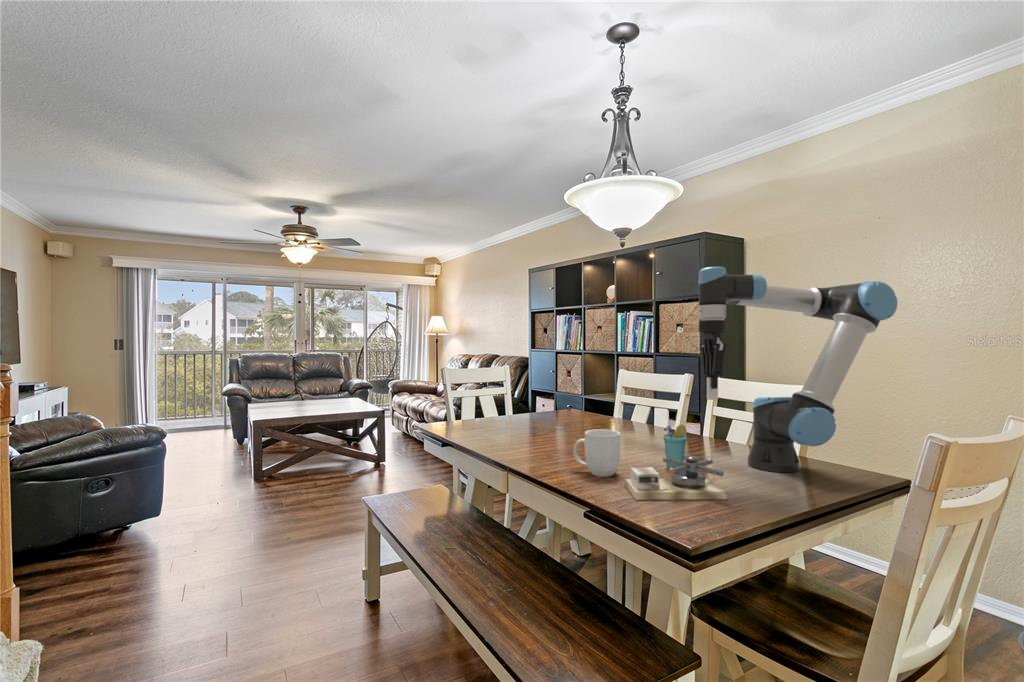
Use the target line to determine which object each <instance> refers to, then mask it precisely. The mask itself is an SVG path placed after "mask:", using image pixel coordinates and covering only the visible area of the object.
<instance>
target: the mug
mask: <svg viewBox="0 0 1024 682" xmlns="http://www.w3.org/2000/svg"><path fill="white" fill-rule="evenodd" d="M580 443H584V456H585V461H586V462H585V461H583V460H581V458H580V457H579V454H578V447H579V444H580ZM573 457H574V458H575V460H576V462H577V463H578V464H580V465H582V466H585V467H587V468H588V470H589V471H590V473H591V474H592V475H593V476H595V477H598V478H599V477H602V478H607V477H611V476H613V475H614V474H615V472H616V470H617V468H618V466H619V462H620V457H621V433H620V432H619V431H618V430H612V429H603V428H602V429H599V428H598V429H596V428H595V429H588V430H586V431H585V432H584V438H580V439H578V440H577V441H576V442H575V443H574V446H573Z"/></svg>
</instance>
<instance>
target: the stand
mask: <svg viewBox="0 0 1024 682" xmlns="http://www.w3.org/2000/svg"><path fill="white" fill-rule="evenodd" d="M624 486H625V488H626V489H627V490H628V492H629V493H630V494H631V496H632V497H633V498H634V499H635V501H656V500H657V501H659V500H660V501H661V500H663V501H667V500H670V501H672V500H673V501H676V500H677V501H678V500H683V501H684V500H692V501H693V500H694V501H695V500H697V501H699V500H727V498H728V495H727V494H728V493H727V491H726V490H725V489H723V488H722V487H721V486H720V485H718V484H716V483H715V482H714V481H712V480H710V479H709V478H705V486H704V487H700V488H687V487H681V486H677V485H674V484H672V483H671V478H660V473H659V472H657V471H656V470H655V469H654V468H653V467H649V466H648V467H643V466H642V467H630V478H625V479H624Z"/></svg>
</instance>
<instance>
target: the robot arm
mask: <svg viewBox="0 0 1024 682" xmlns="http://www.w3.org/2000/svg"><path fill="white" fill-rule="evenodd" d="M697 285H698V308H697V312H698V319H700V320H699V322H698V333H700V334H703V339H702V342H700V343H699V348H700V353H701V362H702V363H701V365H702V372H703V375H705V377H706V400H709V401H711V400H712V401H713V400H714V401H715V400H716V401H717V400H719V377H721V376H722V375H723V369H724V368H723V367H724V360H725V359H724V357H725V351H726V348H727V347H726V346H727V345H726V343H725V342H724V343H722V342H723V340H722V334H725V333H726V332H727V321H726V320H725V319H726V318H727V305H734V306H736V305H737V306H745V307H754V308H761V309H762V308H763V309H770V310H780V311H788V312H797V313H802V314H803V315H804V316H805V317H811V318H819V319H822V320H823V319H824V320H829V321H834V323H835V324H834V326H833V327H832V330H831V332H830V334H829V336H828V337H827V340H826V341H825V343H824V345H823V348H822V350H821V351H820V352H819V353H820V354H819V355H818V357H817V359H816V361H815V362H814V365H813V366H812V369H811V371H810V372H809V375H808V377H807V378H806V381H805V382H804V385H803V386H802V389H801V390H798V391H795V392H794V393H793V394H792V396H777V397H776V396H775V397H773V396H771V397H769V396H767V397H765V396H764V397H762V396H761V397H759V396H758V397H756V398H754V400H753V406H752V411H753V442H752V445H751V448H750V450H749V453H748V456H747V465H748V466H750V467H752V468H754V469H758V470H761V471H766V472H767V471H768V472H774V473H775V472H776V473H793V472H794V473H795V472H799V471H800V470H801V469H800V467H801V464H800V459H799V457H798V455H797V451H796V449H795V445H794V443H796V444H797V445H801V446H807V447H817V446H821V445H824V444H826V443H827V442H829V441H830V440H831V439H832V437H833V436H834V435H835V432H836V429H837V424H836V418H835V417H834V413H835V411H836V410H835V409H836V408H835V407H834V405H833V402H834V399H836V396H837V394H838V392H839V390H840V388H841V386H842V384H843V382H844V380H845V378H846V376H847V374H848V373H849V370H850V368H851V366H852V364H853V362H854V360H855V358H856V357H857V354H858V353H859V351H860V348H861V346H862V345H863V343H864V340H865V338H866V336H867V335H868V334H871V333H874V332H876V330H877V328H878V326H879V325H880V322H881V321H885V320H888V319H890V318H892V317H893V316H894V315H895V313H896V311H897V309H898V297H897V295H896V292H895V291H894V289H893V288H892V286H890V285H888V284H887V283H886V282H883V281H878V280H875V281H871V280H870V281H869V280H868V281H864V282H863V281H862V282H860V283H851V284H843V285H837V286H836V285H835V286H830V287H829V286H828V287H813V286H812V287H809V288H807V289H804V288H796V287H786V286H778V285H770V284H768V283H767V280H766V278H765V277H764V276H763V275H761V274H753V273H752V274H728V272H727V269H726V268H725V267H724V266H709V267H708V266H707V267H704V268H701V269H700V270H699V273H698V283H697Z"/></svg>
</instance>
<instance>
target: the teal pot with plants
mask: <svg viewBox="0 0 1024 682" xmlns="http://www.w3.org/2000/svg"><path fill="white" fill-rule="evenodd" d="M663 430H664V432H666V431H667V430H668V432H669V433H668V434H667V433H666V434H663V435H662V437H663V441H664V448H665V452H664V453H665V457H667V458H670V459H674V460H679V461H683V462H685V459H684V456H685V452H686V442H687V431H688V430H687V428H686V426H685V425H684V424H678V425H677V426H676V427H675V432H674V433H673V432H672V427H671V425H670V424H668V425H667V426H665V427H664V428H663ZM665 464H666V470H667V471H668V470H669V468H675V467H679V466H678V465H674V464H670V463H665Z"/></svg>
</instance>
